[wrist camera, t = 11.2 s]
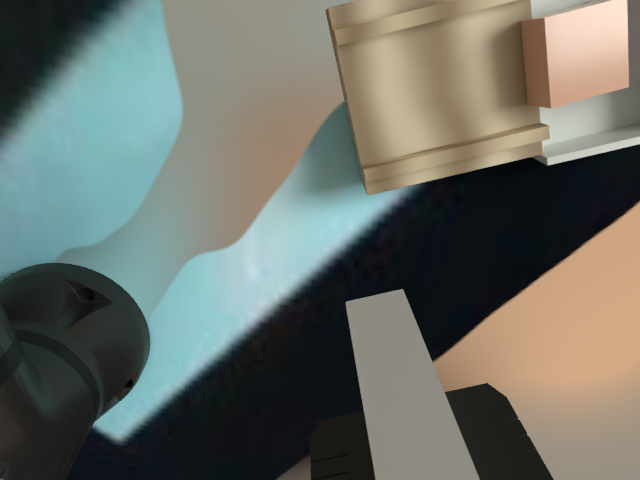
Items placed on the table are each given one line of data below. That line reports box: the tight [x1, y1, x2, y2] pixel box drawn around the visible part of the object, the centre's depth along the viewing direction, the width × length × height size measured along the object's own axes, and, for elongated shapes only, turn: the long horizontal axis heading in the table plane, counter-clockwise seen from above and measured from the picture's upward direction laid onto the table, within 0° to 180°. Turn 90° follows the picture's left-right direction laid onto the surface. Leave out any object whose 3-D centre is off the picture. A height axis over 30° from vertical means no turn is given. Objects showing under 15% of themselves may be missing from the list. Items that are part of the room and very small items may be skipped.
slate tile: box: [583, 0, 640, 82], centre depth 39 cm, size 6×6×3 cm
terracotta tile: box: [520, 0, 629, 108], centre depth 38 cm, size 6×6×3 cm
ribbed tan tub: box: [326, 0, 550, 195], centre depth 40 cm, size 14×14×6 cm
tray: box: [531, 0, 640, 165], centre depth 40 cm, size 10×16×4 cm, turn 13°
